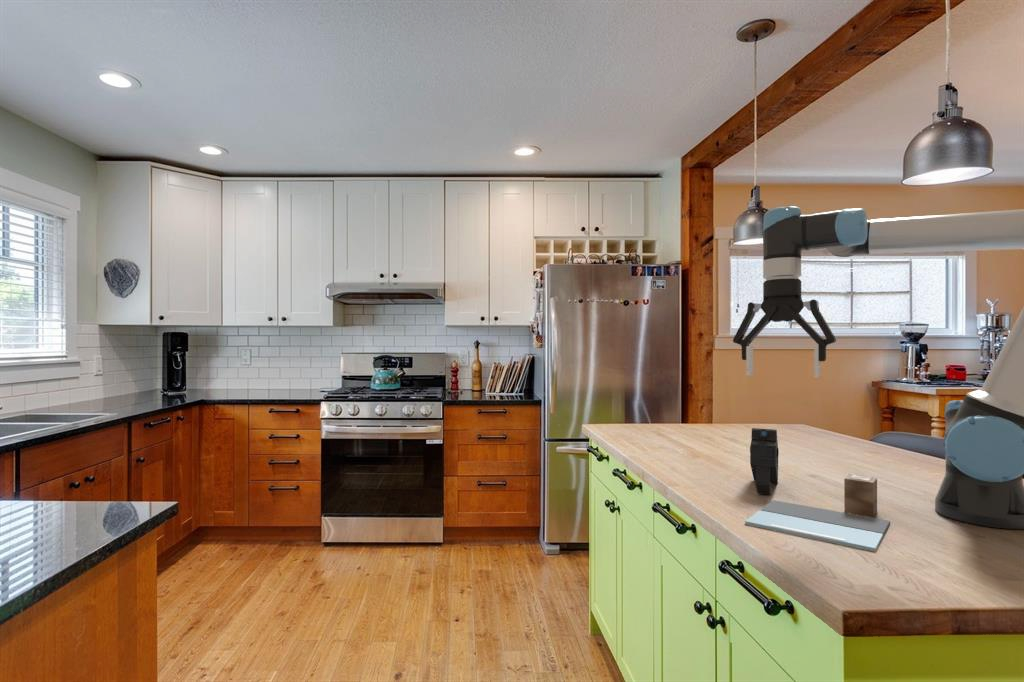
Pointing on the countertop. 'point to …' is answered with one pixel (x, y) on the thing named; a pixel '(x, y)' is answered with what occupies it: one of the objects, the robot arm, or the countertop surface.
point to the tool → (764, 458)
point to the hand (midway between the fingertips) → (782, 376)
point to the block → (860, 495)
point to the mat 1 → (828, 516)
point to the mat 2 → (816, 530)
